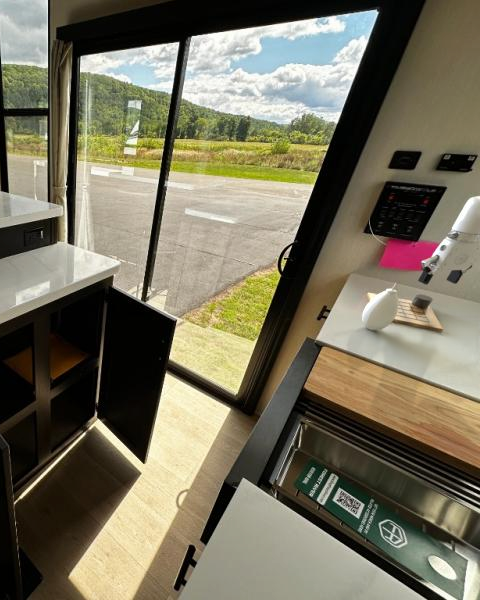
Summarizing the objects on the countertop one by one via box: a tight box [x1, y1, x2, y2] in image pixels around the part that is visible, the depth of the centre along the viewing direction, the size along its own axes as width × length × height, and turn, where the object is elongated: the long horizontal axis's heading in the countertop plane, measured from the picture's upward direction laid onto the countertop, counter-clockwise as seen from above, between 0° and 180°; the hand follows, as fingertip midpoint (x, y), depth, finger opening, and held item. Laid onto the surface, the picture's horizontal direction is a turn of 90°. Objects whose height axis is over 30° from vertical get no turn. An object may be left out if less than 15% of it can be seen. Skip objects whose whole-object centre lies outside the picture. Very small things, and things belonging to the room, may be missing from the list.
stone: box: [412, 294, 433, 308], centre depth 117 cm, size 4×4×3 cm
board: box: [366, 292, 444, 333], centre depth 116 cm, size 18×18×1 cm
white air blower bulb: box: [361, 282, 399, 331], centre depth 104 cm, size 8×8×18 cm
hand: (436, 282), depth 112 cm, fingers open, 9 cm apart
